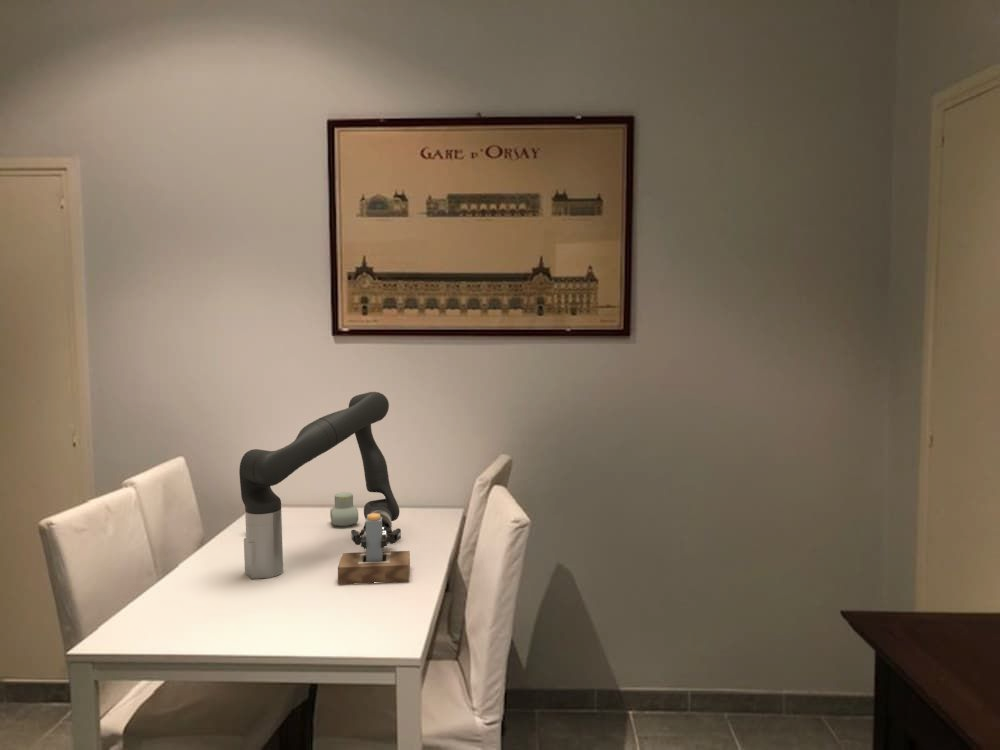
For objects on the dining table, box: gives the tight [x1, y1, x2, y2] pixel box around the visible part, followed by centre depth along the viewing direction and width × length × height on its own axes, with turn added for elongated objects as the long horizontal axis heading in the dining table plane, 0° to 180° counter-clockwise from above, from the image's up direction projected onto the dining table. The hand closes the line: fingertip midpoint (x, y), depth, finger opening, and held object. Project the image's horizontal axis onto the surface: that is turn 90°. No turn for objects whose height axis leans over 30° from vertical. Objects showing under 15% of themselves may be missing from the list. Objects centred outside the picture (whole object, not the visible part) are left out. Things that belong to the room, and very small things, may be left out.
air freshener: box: [329, 491, 359, 527], centre depth 261 cm, size 11×8×10 cm
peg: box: [365, 513, 384, 562], centre depth 211 cm, size 4×4×15 cm
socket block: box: [337, 550, 411, 585], centre depth 211 cm, size 18×12×5 cm, turn 95°
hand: (373, 544), depth 208 cm, fingers closed on peg, 4 cm apart
